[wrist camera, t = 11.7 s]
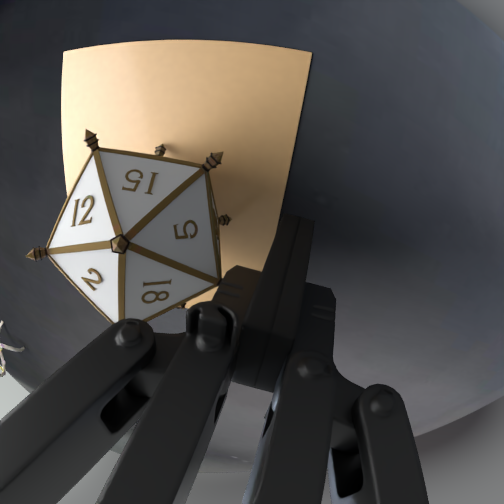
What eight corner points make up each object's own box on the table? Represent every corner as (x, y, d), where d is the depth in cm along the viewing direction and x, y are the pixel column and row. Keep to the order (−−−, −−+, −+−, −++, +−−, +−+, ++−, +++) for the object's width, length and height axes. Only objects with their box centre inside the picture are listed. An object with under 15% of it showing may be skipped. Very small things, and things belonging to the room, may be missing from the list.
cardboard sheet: (312, 52, 10) (312, 52, 10) (254, 327, 19) (254, 328, 19) (64, 51, 12) (63, 51, 12) (81, 269, 21) (80, 269, 21)
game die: (223, 201, 19) (207, 365, 15) (95, 178, 17) (56, 339, 13) (276, 98, 11) (266, 372, 7) (76, 65, 9) (-32, 314, 5)
